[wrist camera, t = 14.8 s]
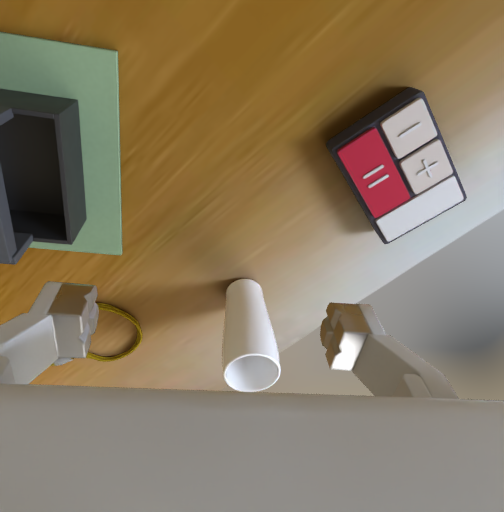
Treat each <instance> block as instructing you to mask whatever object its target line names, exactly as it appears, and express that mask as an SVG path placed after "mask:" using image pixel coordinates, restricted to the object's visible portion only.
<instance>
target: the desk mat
mask: <svg viewBox="0 0 504 512" xmlns="http://www.w3.org/2000/svg"><path fill="white" fill-rule="evenodd" d="M0 89H7V90H14V91H21V92H28V93H35V94H42V95H48V96H55V97H62V98H69V99H76V100H78V105H79V119H80V133H81V147H82V161H83V175H84V188H85V202H86V216H87V219H86V221H85V223H84V225H83V226H82V228H81V230H80V232H79V233H78V235H77V237H76V239H75V241H74V242H73V244H72V245H68V244H56V243H45V242H34V241H33V242H32V243H31V244H30V246H29V247H30V248H42V249H53V250H65V251H77V252H88V253H100V254H112V255H121V254H122V216H121V171H120V126H119V81H118V51H116V50H110V49H104V48H98V47H92V46H85V45H79V44H73V43H67V42H61V41H55V40H49V39H42V38H36V37H30V36H24V35H18V34H12V33H6V32H0Z"/></svg>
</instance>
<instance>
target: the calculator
mask: <svg viewBox="0 0 504 512" xmlns="http://www.w3.org/2000/svg"><path fill="white" fill-rule="evenodd" d="M326 146H327V148H328V150H329V152H330V154H331V155H332V157H333V159H334V160H335V162H336V164H337V166H338V167H339V169H340V171H341V172H342V174H343V176H344V178H345V179H346V181H347V183H348V185H349V186H350V188H351V190H352V191H353V193H354V195H355V197H356V198H357V200H358V202H359V204H360V205H361V207H362V209H363V211H364V212H365V214H366V216H367V218H368V219H369V221H370V223H371V225H372V226H373V228H374V230H375V231H376V233H377V234H378V236H379V237H380V239H381V240H382V241H383V243H384V244H388V243H390V242H392V241H394V240H395V239H397V238H399V237H401V236H402V235H404V234H406V233H408V232H410V231H411V230H413V229H415V228H417V227H419V226H420V225H422V224H424V223H426V222H428V221H429V220H431V219H433V218H435V217H436V216H438V215H440V214H442V213H444V212H445V211H447V210H449V209H451V208H453V207H454V206H456V205H458V204H460V203H461V202H463V201H465V200H466V198H467V197H466V194H465V191H464V189H463V186H462V184H461V182H460V179H459V177H458V174H457V172H456V169H455V167H454V165H453V162H452V160H451V157H450V155H449V152H448V150H447V148H446V145H445V143H444V140H443V138H442V135H441V133H440V131H439V128H438V126H437V123H436V121H435V118H434V116H433V114H432V111H431V109H430V106H429V104H428V101H427V99H426V97H425V94H424V92H422V91H420V90H418V89H415V88H412V87H409V88H407V89H406V90H404V91H403V92H401V93H400V94H398V95H397V96H395V97H394V98H392V99H391V100H389V101H387V102H386V103H384V104H383V105H381V106H380V107H378V108H377V109H375V110H374V111H372V112H371V113H369V114H368V115H366V116H365V117H363V118H362V119H360V120H359V121H357V122H356V123H354V124H353V125H351V126H350V127H348V128H347V129H345V130H343V131H342V132H340V133H339V134H337V135H336V136H334V137H333V138H331V139H330V140H328V141H327V143H326Z"/></svg>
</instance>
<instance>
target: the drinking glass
mask: <svg viewBox="0 0 504 512" xmlns="http://www.w3.org/2000/svg"><path fill="white" fill-rule="evenodd" d="M222 367H223V377H224V380H225V382H226V383H227V384H228V385H229V386H230V387H232V388H233V389H235V390H238V391H242V392H257V391H261V390H264V389H266V388H268V387H270V386H272V385H273V384H274V383H275V382H276V381H277V380H278V378H279V376H280V372H281V368H280V360H279V353H278V347H277V342H276V339H275V335H274V332H273V328H272V325H271V322H270V318H269V315H268V311H267V308H266V305H265V301H264V297H263V291H262V288H261V286H260V285H259V284H258V283H257V282H255V281H253V280H250V279H239V280H237V281H234V282H233V283H232V284H230V286H229V287H228V288H227V291H226V308H225V319H224V330H223V340H222Z"/></svg>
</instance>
